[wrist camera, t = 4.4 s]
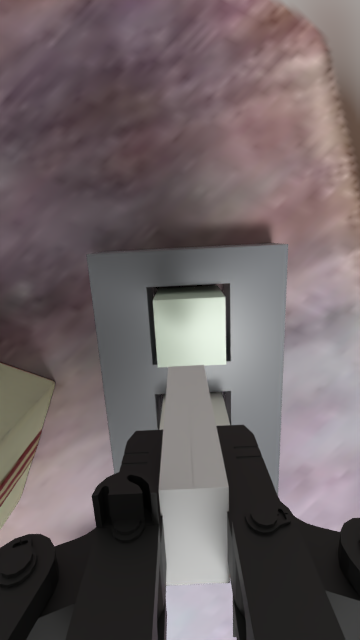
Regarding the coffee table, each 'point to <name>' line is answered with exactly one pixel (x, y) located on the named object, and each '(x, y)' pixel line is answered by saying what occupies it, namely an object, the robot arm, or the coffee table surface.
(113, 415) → the key panel
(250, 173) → the coffee table surface
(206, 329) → the sage key
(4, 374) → the gift box
